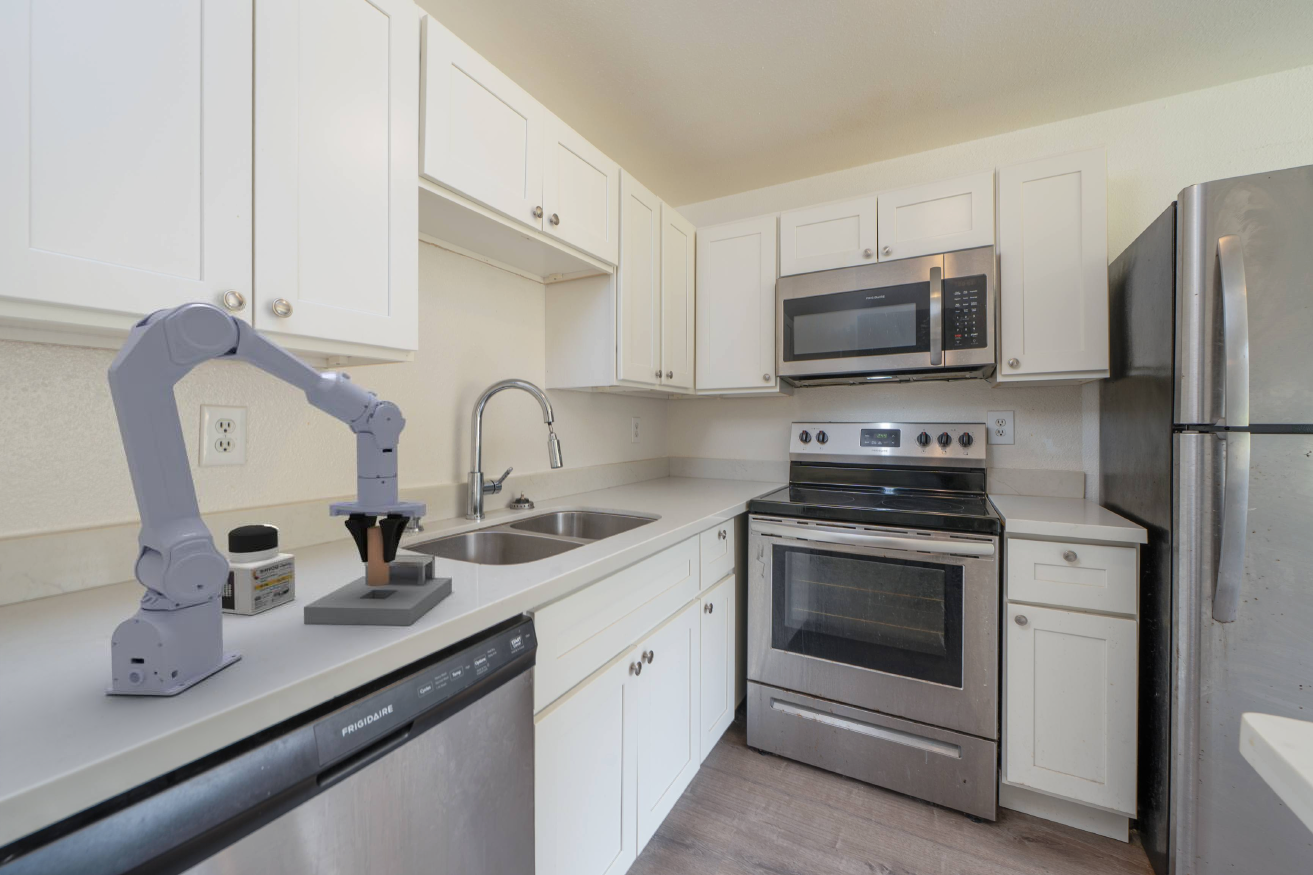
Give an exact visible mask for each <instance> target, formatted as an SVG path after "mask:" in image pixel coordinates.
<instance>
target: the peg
mask: <svg viewBox="0 0 1313 875" xmlns="http://www.w3.org/2000/svg"><path fill="white" fill-rule="evenodd" d="M367 542H368V585H369V586H381V585H385V584H388V583H389V563H384V557H383V537H382V532H381V528H380V525H375V526H372V527H368V528H367Z"/></svg>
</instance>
